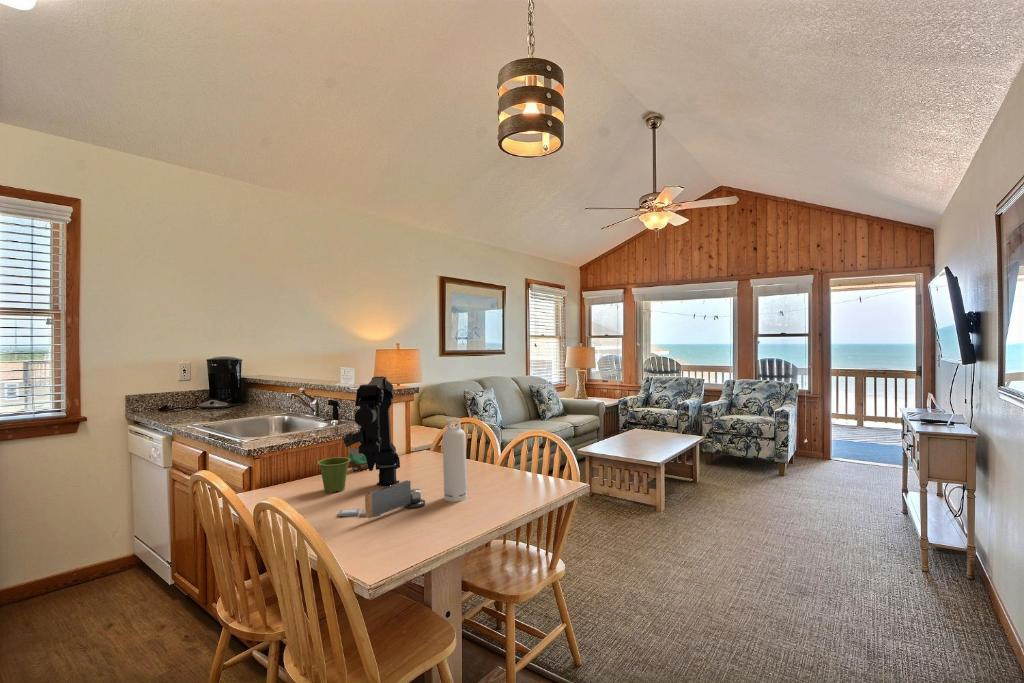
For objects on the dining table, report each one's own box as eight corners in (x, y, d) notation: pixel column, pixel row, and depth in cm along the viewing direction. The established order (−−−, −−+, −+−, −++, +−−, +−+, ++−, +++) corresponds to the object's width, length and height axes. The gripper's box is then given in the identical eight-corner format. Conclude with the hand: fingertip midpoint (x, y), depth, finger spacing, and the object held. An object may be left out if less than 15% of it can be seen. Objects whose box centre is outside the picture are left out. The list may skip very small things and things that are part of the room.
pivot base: (413, 500, 175) (413, 497, 175) (429, 503, 172) (429, 500, 172) (400, 506, 169) (400, 503, 169) (416, 509, 166) (416, 506, 166)
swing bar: (415, 498, 173) (414, 476, 173) (423, 500, 171) (422, 478, 171) (363, 517, 156) (362, 492, 156) (371, 519, 153) (370, 495, 153)
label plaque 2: (362, 512, 164) (362, 509, 164) (381, 511, 165) (381, 507, 165) (361, 516, 160) (360, 513, 160) (380, 515, 161) (380, 511, 161)
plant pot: (313, 495, 184) (312, 465, 184) (324, 486, 196) (324, 457, 196) (345, 494, 184) (344, 464, 184) (355, 485, 196) (354, 456, 196)
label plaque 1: (340, 513, 164) (340, 509, 164) (359, 511, 165) (359, 508, 165) (338, 517, 160) (338, 513, 160) (358, 515, 161) (357, 512, 161)
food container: (358, 473, 213) (357, 450, 213) (348, 471, 217) (348, 448, 217) (380, 467, 224) (379, 444, 224) (371, 465, 227) (370, 443, 227)
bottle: (444, 502, 172) (442, 421, 172) (443, 495, 180) (442, 418, 180) (467, 500, 174) (465, 420, 174) (466, 493, 182) (464, 417, 182)
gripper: (347, 421, 171) (347, 466, 170) (341, 427, 153) (341, 478, 152) (380, 419, 173) (381, 464, 173) (378, 425, 155) (379, 476, 154)
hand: (370, 470), depth 163 cm, fingers closed
